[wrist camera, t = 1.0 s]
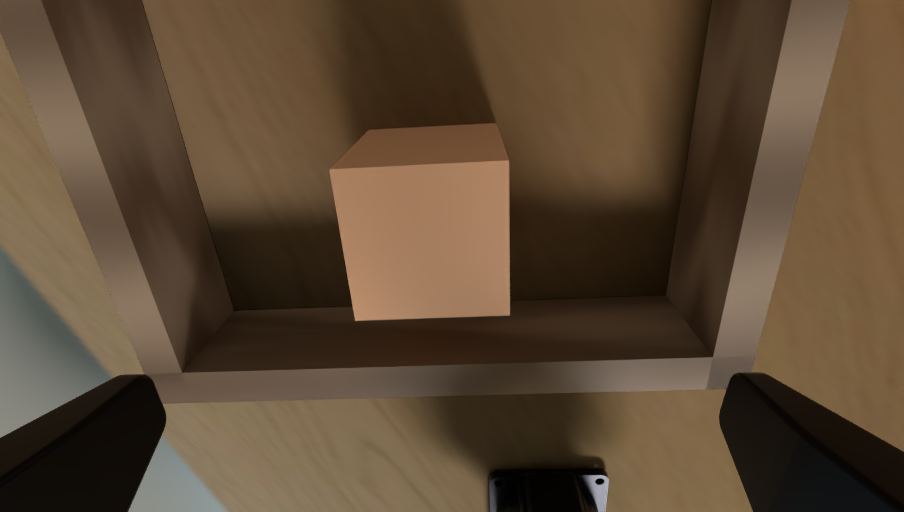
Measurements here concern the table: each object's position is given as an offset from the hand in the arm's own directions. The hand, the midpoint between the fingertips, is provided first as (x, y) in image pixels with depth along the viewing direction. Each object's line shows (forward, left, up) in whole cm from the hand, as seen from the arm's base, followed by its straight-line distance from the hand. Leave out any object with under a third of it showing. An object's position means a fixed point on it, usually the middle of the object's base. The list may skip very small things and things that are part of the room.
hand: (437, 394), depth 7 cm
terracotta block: (-1, +1, -13) cm, 13 cm away
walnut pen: (+1, +1, -13) cm, 13 cm away
